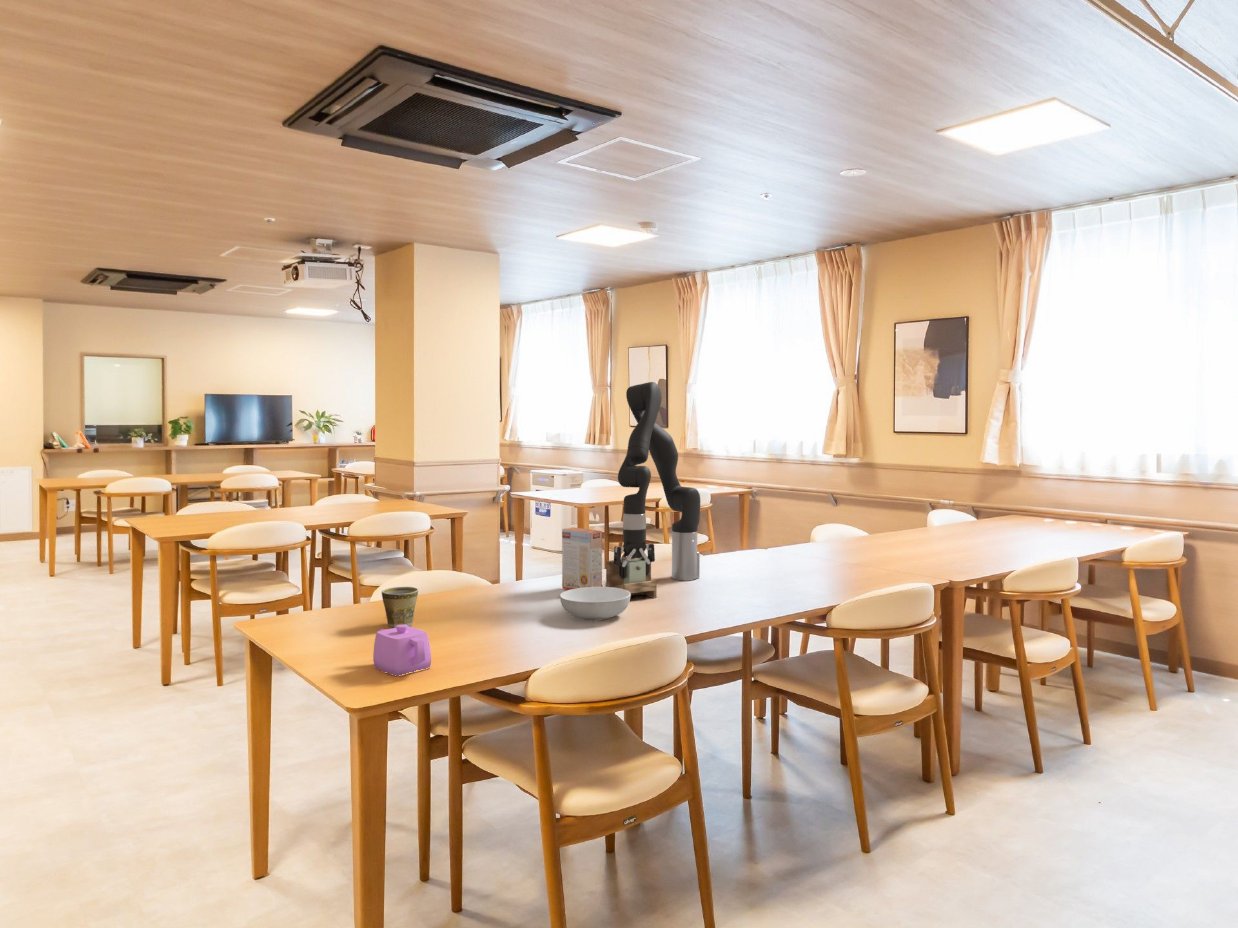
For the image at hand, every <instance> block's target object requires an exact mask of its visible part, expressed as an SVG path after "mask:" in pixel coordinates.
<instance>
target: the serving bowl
mask: <svg viewBox="0 0 1238 928" xmlns="http://www.w3.org/2000/svg"><path fill="white" fill-rule="evenodd" d="M631 597H632V596H631V594H630V592H629V591H627V590H624V589H620V588H613V587H606V586H602V587H583V588H576V589H571V590H564V591H562V592H561V593H560V594H559V601H560V604H561V606H562V608H563V610H564V611H565V612H566V613H567V614H569V615H571V616H573V617H576V618H579V619H583V620H588V621H603V620H607V619H610V618H612V617H613V618H614V617H615V616H618V615H620V614H622V613H623V612H625V610H626V609H627V608H628V606H629V604H630V600H631Z"/></svg>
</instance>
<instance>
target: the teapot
mask: <svg viewBox="0 0 1238 928" xmlns="http://www.w3.org/2000/svg"><path fill="white" fill-rule="evenodd" d="M431 653H432V652H431V645H430V641H429V636H428V633H427V632H426V631H424V630H422V629H419V628H416V627H413V626H407V625H397V626H396V628H388V629H385V628H384V629H378V631H376V634H375V638H374V643H373V656H372V657H373V658H372V659H373V665H374V668H375V667H376V668H375V669H377V670H378V669H379V671H380V670H382V671H383V672H382V671H381V672H382V673H384V672H387V673H389V674H393V675H396V676H395V677H397V676H399V675H402V674H406V673H409V672H414V671H416V670H421V669H426V668H428V667H430V668H431V663H432V654H431ZM387 673H386V674H387ZM389 674H388V675H389ZM393 675H392V676H393ZM399 677H400V676H399Z"/></svg>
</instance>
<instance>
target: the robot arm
mask: <svg viewBox="0 0 1238 928" xmlns="http://www.w3.org/2000/svg"><path fill="white" fill-rule="evenodd" d="M625 394H626V395H625V396H626V401H627V404H628V407H629V409H630V411H631V414H632V415H633V417H634V419H635V421H636V423H637V424H636V425H635V427H634V428H633V430H632V431H631V433H630V436H629V438H628V442H627V443H628V444H627V452H626V454H625V455H626V456H625V458H624V460H623V461H622V464H621V465H620V468H619V470H618V474H617V480H618V484H619V485H620V486H621V487H623V488H638V491H637V492H636V493H631V494H627V495H625V496H624V498H623V515H622V516H623V517H622V542H623V545H622V546H617V545H615V546H614V549H613V560H614V564H615V565H618V566H619V575H620V576H621V578H626V567H625V565H626V564H627V562H628V561H629V560H630V559H635V558H640V559H641V560H644V561H646V576H648V574H649V564H650V563H651V564H652V563H654V562H655V561H656V558H655V557H656V556H655V555H656V554H655V544H654V543H651V542H647V543H646V540H647V518H646V498H647V493H648V488H649V486H650V483H651V479H652V473H651V470H650V468H649V467H648V466H646V465H642V464H645V463H646V462H647V461H648V458H649V454H650V456H651V459H652V461H653V463H654V465H655V468H656V471H657V472H658V473H657V474H658V476H659V479H660V482H661V485H662V489H663V492H664V495H665V499H666V503H667V505H668V507H669V508H670V509H671V510H672V511H674V512H678V513H681V517H680V519H679V520H677V521H674V522H673V523H672V525H671V579H674V580H675V581H676V580H677V581H693V580H697V579H700V561H701V560H700V558H701V556H700V555H701V554H700V551H698V530H699V529H698V528H699V524H700V518H701V494H700V492H699V491H698V489H697V488H695V487H690V486H688V487H687V486H682V485H681V484H680V482H679V479H678V476H677V466H678V461H679V452H678V448H677V447H676V444H675V442H674V439H673V437H672V436H671V435H670V433H669V432H668V431H666V430H665V429H664V428H663V427H661V426H660V425H659V424H658V423H656V420H657V418H658V414H659V411H660V408H661V405H662V404H661V403H662V391H661V388H660V386H659V385H658V383H656V382H654V381H649V382H648V381H647V382H644V383H640V384H639V383H638V384H635V385H631V386H629V387H627V390H626V393H625ZM646 550H647V554H646ZM622 553H623V554H622ZM647 557H648V558H647Z"/></svg>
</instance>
